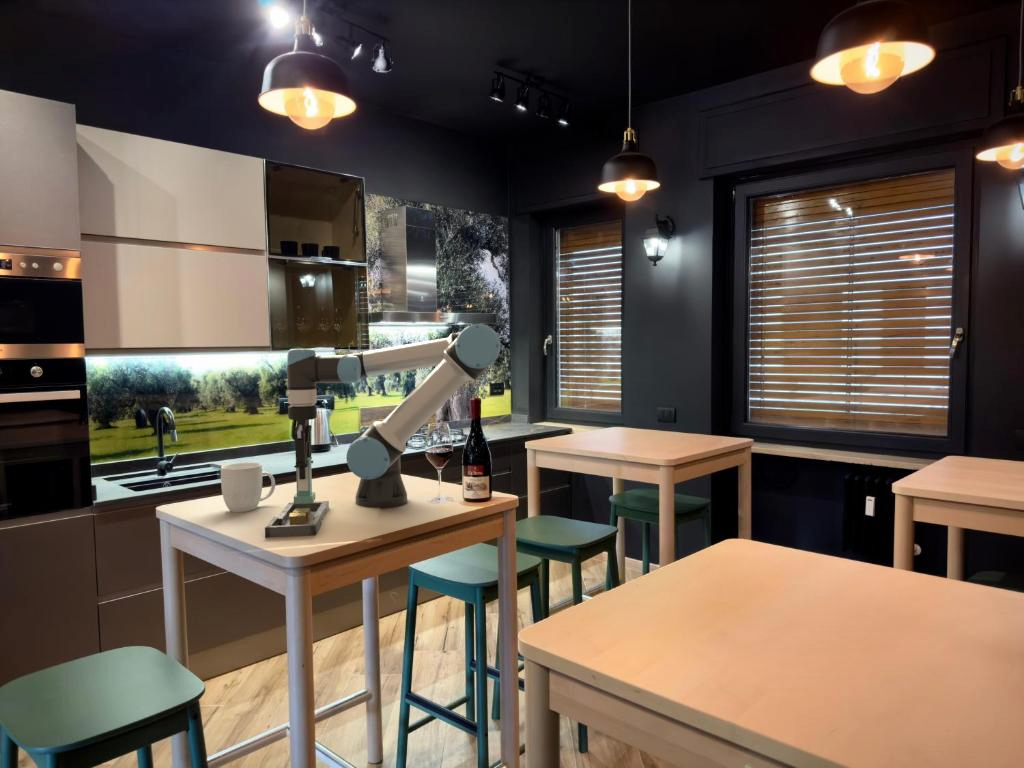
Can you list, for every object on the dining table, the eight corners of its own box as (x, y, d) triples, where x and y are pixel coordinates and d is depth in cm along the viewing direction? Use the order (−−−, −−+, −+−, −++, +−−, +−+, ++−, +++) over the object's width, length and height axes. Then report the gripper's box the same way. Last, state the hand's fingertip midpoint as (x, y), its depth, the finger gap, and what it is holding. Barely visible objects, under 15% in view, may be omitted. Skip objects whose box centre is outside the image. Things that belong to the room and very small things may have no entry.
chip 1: (306, 521, 183) (305, 511, 183) (305, 524, 179) (305, 515, 179) (290, 522, 182) (290, 513, 182) (289, 526, 178) (289, 516, 178)
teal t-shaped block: (315, 499, 194) (314, 456, 193) (312, 503, 189) (311, 459, 188) (297, 499, 193) (295, 457, 192) (293, 504, 188) (292, 460, 188)
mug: (268, 502, 207) (267, 459, 207) (282, 508, 199) (280, 463, 198) (217, 510, 198) (215, 465, 197) (229, 517, 190) (227, 470, 189)
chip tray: (321, 526, 179) (321, 514, 179) (315, 537, 169) (315, 525, 169) (273, 528, 178) (273, 517, 178) (265, 539, 168) (264, 527, 168)
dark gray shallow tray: (328, 509, 197) (328, 501, 197) (319, 526, 179) (319, 516, 179) (289, 511, 196) (288, 502, 195) (275, 528, 178) (275, 518, 178)
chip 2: (311, 516, 187) (310, 507, 187) (308, 520, 183) (308, 511, 183) (295, 517, 187) (295, 508, 186) (293, 521, 183) (292, 512, 182)
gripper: (293, 402, 197) (296, 483, 199) (282, 407, 181) (284, 496, 182) (320, 401, 198) (322, 482, 200) (311, 407, 182) (313, 495, 183)
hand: (304, 488), depth 191 cm, fingers closed on teal t-shaped block, 3 cm apart
